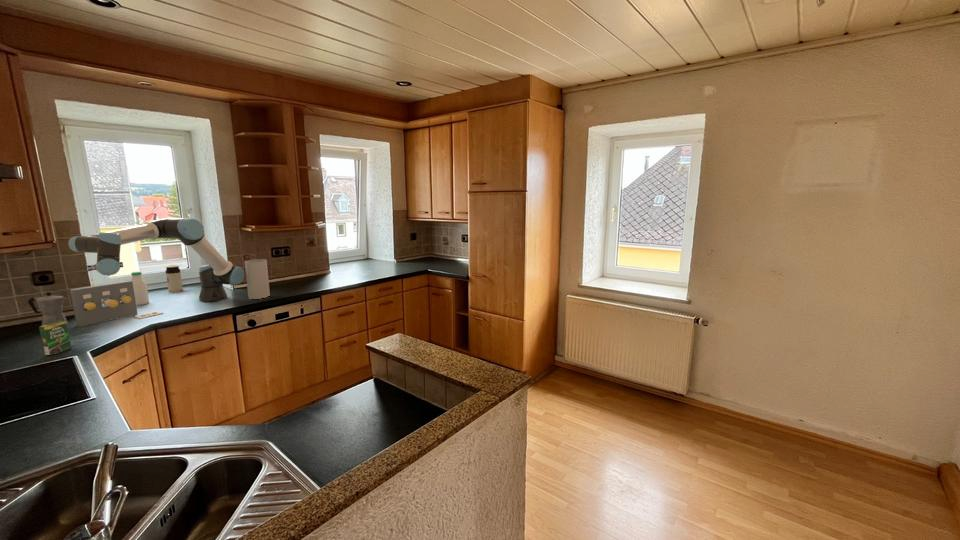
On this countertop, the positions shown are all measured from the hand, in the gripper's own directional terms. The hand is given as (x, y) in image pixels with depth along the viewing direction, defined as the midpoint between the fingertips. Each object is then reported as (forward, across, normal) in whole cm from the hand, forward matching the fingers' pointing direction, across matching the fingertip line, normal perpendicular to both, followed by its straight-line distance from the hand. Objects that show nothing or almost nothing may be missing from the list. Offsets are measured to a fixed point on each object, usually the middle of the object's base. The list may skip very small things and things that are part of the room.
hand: (103, 265), depth 198 cm
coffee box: (-34, -21, -34) cm, 53 cm away
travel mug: (+63, +36, -24) cm, 76 cm away
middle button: (+5, -1, -22) cm, 22 cm away
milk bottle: (+38, +14, -27) cm, 48 cm away
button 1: (+6, -9, -21) cm, 24 cm away
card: (+5, +14, -30) cm, 34 cm away
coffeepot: (+14, -23, -28) cm, 39 cm away
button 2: (+11, +5, -21) cm, 24 cm away
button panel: (+10, -2, -29) cm, 31 cm away
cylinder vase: (+4, +70, -32) cm, 78 cm away
